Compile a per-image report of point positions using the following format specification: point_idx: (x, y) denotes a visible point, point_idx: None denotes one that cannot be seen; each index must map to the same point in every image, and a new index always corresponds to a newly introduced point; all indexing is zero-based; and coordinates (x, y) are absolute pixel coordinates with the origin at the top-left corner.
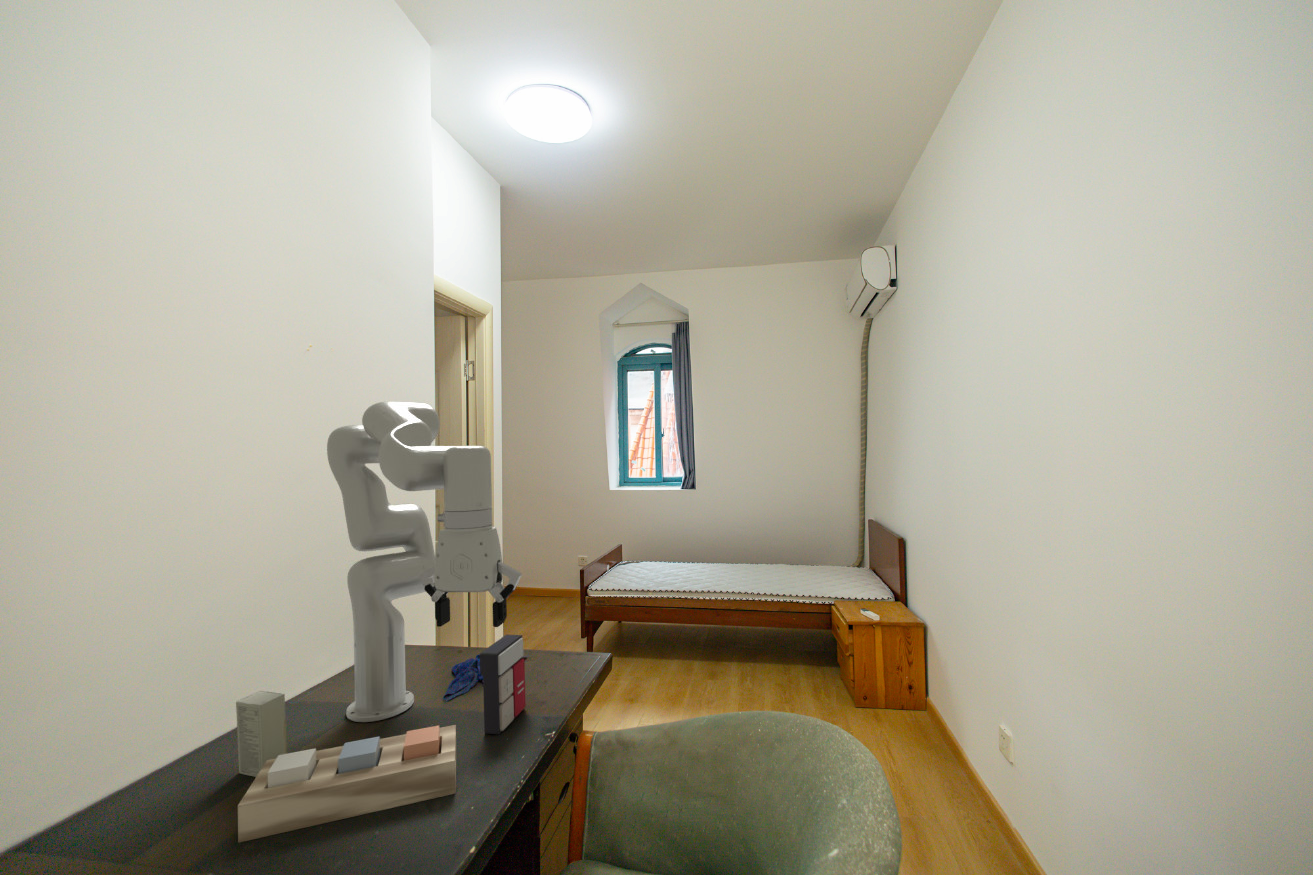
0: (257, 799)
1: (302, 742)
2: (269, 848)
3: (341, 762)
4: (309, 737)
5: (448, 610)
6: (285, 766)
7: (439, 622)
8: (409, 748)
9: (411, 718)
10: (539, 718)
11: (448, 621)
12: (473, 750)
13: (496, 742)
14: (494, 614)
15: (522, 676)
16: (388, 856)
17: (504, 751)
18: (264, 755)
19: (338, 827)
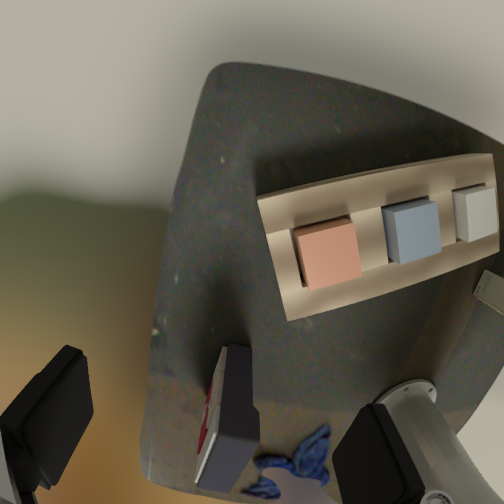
0: (482, 160)
1: (466, 338)
2: (438, 133)
3: (430, 202)
4: (461, 348)
5: (346, 485)
6: (484, 198)
7: (376, 413)
8: (343, 223)
9: (364, 389)
10: (179, 373)
11: (337, 448)
12: (257, 306)
13: (227, 322)
14: (45, 383)
15: (201, 429)
16: (305, 82)
17: (208, 296)
18: (499, 278)
19: (387, 150)
